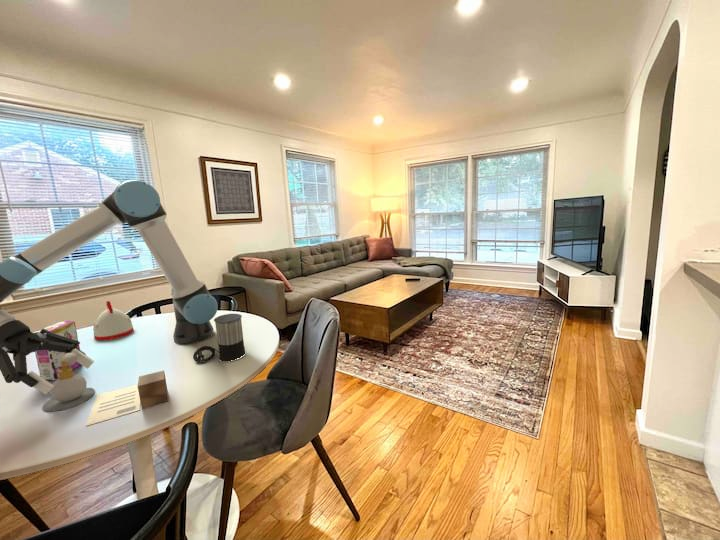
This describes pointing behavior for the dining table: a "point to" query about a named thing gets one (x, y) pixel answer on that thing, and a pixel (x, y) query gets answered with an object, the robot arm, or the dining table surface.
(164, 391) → the walnut block
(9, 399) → the dining table surface
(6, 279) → the robot arm
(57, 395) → the perfume bottle
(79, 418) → the dining table surface
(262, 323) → the dining table surface
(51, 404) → the grey smooth round part
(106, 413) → the letter
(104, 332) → the white and red dome
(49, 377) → the candy bar box
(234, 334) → the milk frother
